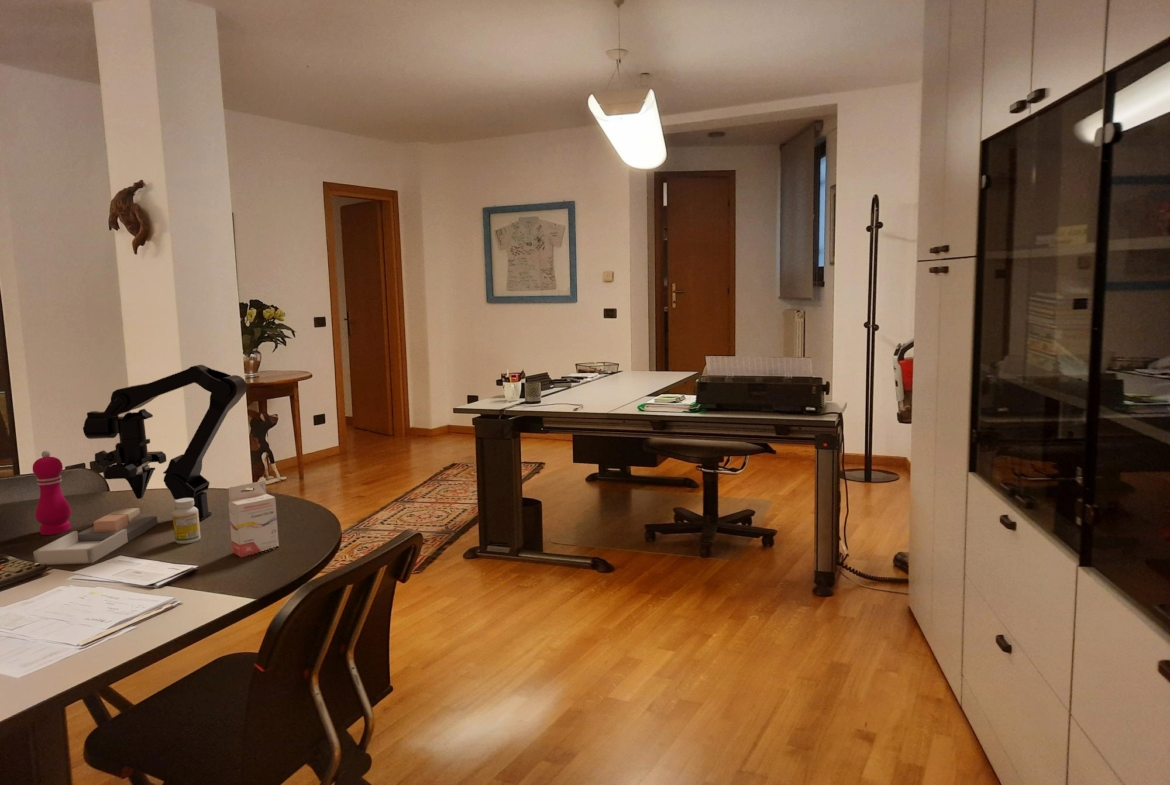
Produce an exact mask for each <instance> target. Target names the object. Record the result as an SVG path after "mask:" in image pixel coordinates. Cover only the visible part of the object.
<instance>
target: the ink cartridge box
mask: <svg viewBox="0 0 1170 785" xmlns="http://www.w3.org/2000/svg"><path fill="white" fill-rule="evenodd" d="M266 485H267V484H266V481H265V480H262V481H257V482H256V481H255V482H250V483H245V484H239V485H234V486H230V487H228V514H229V526H230V537H231V538H230V539H231V548H232V549H231V550H232V551H231V552H232V553H233V554H234V555H236V556H238V557H239V558H243V557H248V555H249V556H251V554H252V555H255V554H254V553H257V554H259V553H258V552H261V551H264V550H267V549H269V548H273V547H276V546H279V532H278V517H277V503H276V496H273V495H272V494H271V495H270V494H268V493H267V491H266V490H267V488H266V487H267V486H266ZM248 488H249V489H253V490H250V491H244V490H247V489H248ZM242 491H243V492H242ZM279 547H280V546H279ZM261 553H262V552H261Z"/></svg>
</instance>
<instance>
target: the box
mask: <svg viewBox="0 0 1170 785" xmlns="http://www.w3.org/2000/svg"><path fill="white" fill-rule="evenodd" d="M78 533H79V532H78V531H77V530H73V531H71V532H69V533H68V534H66V535H64V536H62V537H60V538H59V537H58V538H57V539H55V540H53V541H52V542H50V543H47V544H46V545H43V546H42V547H39V548H37V549H36V550H34V551H33V552H32V553H33V559H34V560H33V561H34V564H35V563H42V564H46V565H49V566H50V565H75V564H76V565H77V564H78V565H79V564H93V563H95V562H97V561H99V559H102V558H104V557H105V556H106V555H108V554H110V553H112V552H113V551H116V550H117V549H119V548H120V547H122V546H123V545H126V543H128V542H129V541H128V538H127V529H123V530H121V531H119V532H117V533H116V534H114V535H112V536H110V537H109V538H107V539H105V540H103V541H91V542H79V541H78ZM46 565H45V566H46Z"/></svg>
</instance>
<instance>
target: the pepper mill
mask: <svg viewBox="0 0 1170 785" xmlns="http://www.w3.org/2000/svg"><path fill="white" fill-rule="evenodd" d="M40 455H41V458H38V459H37V460H35V461H34V463H33V464H32V473H33V475H35V476H36V477H37V478H36V480H35V481H37V482H36V484H37V485H38V486H39V494H40V495H39V499H38V503H37V505H36V509H35V519H36V521H37V522H38V523H40V524H41V525H40V526H39V534H41V535H42V536H54V535H60V534H63V533H66V532H69V531H70V530H71V529H72V526H71V521H69V518H70V517H71V515H72V509H71V505H70V504H69V502H68V501H67V499H66V498H65V496H64V494H63V491H62V488H61V482H62V481H63V480H62V475H61V473H62V471H63V463H62V461H61V459H59V458H58V457H55V456H51V452H50V451H49V450H44V451H42V452H41V454H40Z"/></svg>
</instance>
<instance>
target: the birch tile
mask: <svg viewBox="0 0 1170 785" xmlns="http://www.w3.org/2000/svg"><path fill="white" fill-rule="evenodd" d="M107 515H127V518H128V524H131V523H132V522H134V521H136V520H138V519H140V517H141V512H140V508H139V507H138V508H137V507H135V508H134V507H133V508H118V509H116V510H114V511H111V512H110V513H108V514H107Z"/></svg>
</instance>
